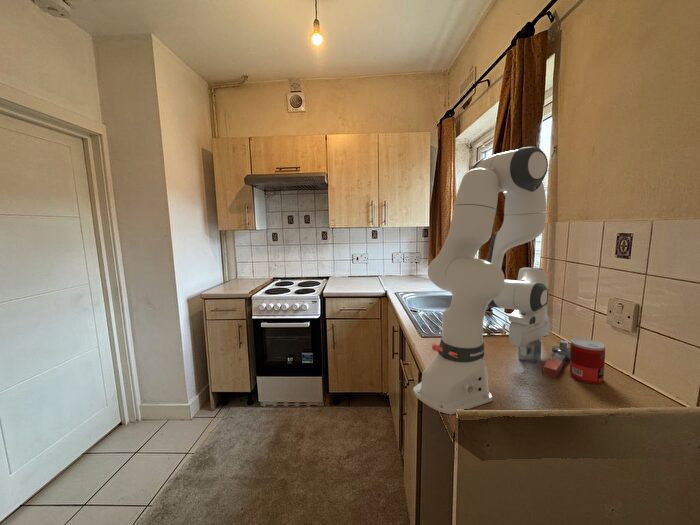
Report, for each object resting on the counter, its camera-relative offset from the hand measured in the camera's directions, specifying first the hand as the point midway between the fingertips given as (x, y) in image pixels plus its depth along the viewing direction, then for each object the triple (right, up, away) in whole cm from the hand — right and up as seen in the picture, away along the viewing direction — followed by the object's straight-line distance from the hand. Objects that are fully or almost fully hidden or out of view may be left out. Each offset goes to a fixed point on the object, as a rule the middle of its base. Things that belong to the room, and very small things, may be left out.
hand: (530, 351), depth 99 cm
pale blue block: (0, -3, 0) cm, 3 cm away
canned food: (+9, -4, -13) cm, 16 cm away
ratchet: (+7, -3, -4) cm, 8 cm away
